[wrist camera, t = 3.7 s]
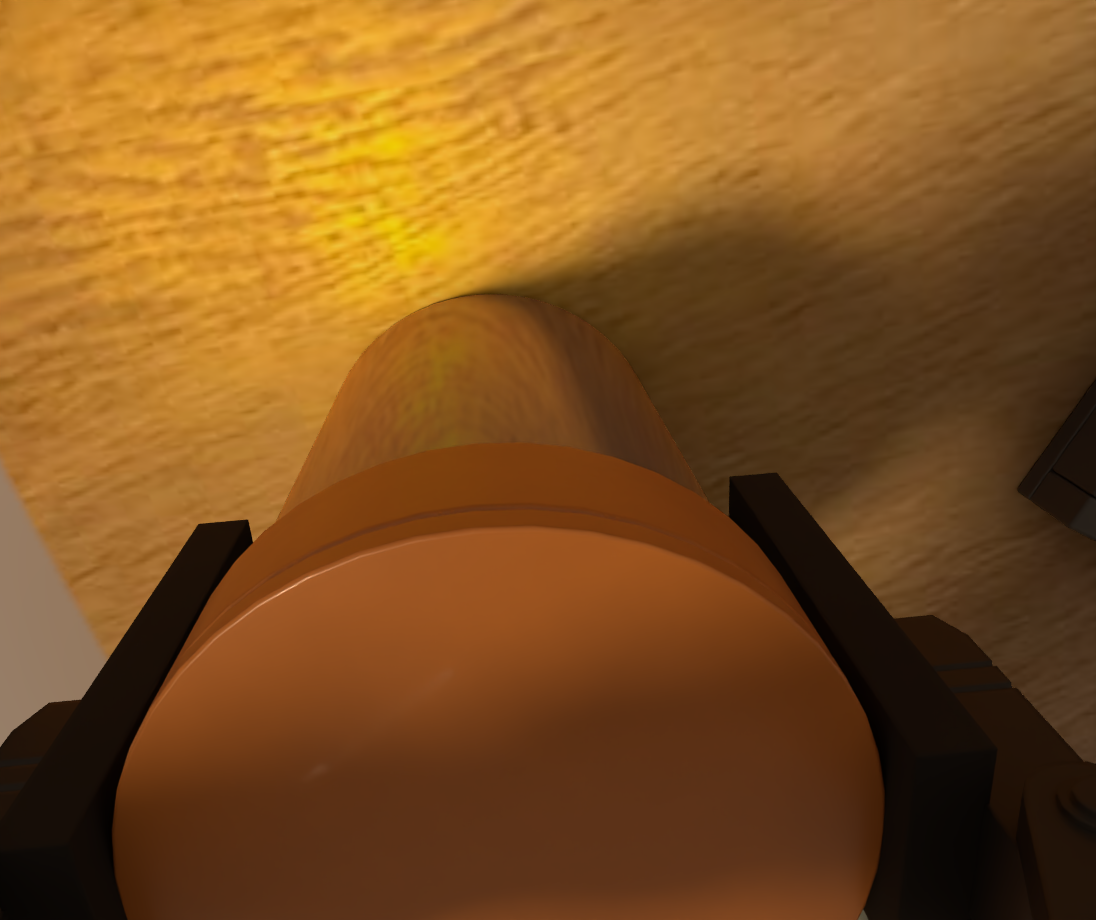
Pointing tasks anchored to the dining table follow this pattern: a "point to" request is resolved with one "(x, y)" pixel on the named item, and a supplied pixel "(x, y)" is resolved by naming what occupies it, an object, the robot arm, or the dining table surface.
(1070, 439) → the tray
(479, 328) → the jar
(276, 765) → the lid
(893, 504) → the dining table surface
